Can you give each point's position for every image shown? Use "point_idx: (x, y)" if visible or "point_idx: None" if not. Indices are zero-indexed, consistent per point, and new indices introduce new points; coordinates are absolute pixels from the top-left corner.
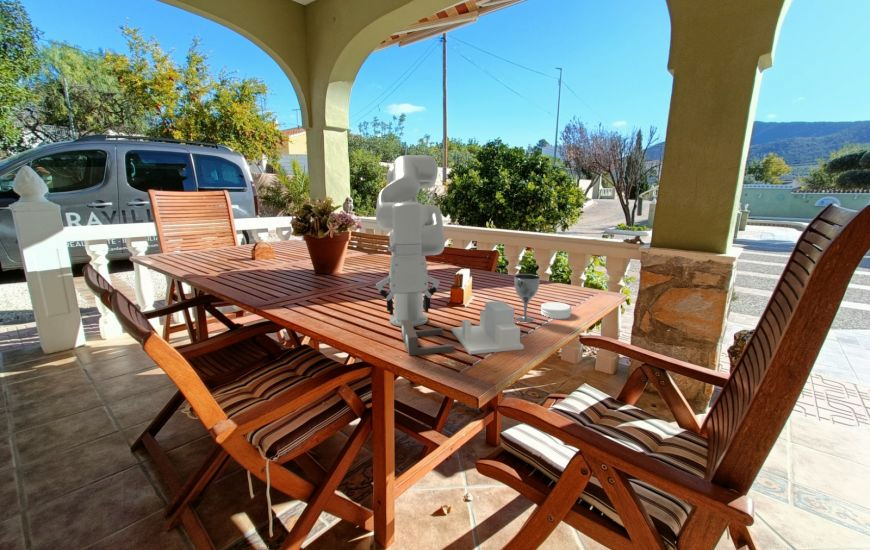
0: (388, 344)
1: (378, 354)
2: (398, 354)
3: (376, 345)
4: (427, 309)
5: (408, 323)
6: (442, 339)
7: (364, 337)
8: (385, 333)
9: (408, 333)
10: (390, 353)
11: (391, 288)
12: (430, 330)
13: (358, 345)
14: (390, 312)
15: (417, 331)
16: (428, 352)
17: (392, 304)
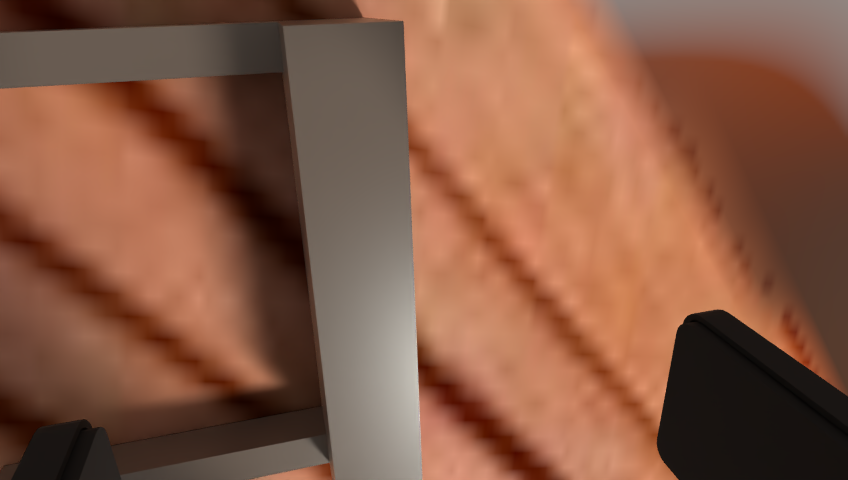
0: (505, 276)
1: (603, 93)
2: (452, 64)
3: (590, 265)
4: (40, 456)
5: (361, 455)
6: (6, 353)
7: (642, 402)
8: (500, 467)
9: (391, 166)
10: (513, 97)
11: None
12: (125, 475)
13: (700, 275)
14: (740, 328)
15: (257, 452)
16: (162, 25)
17: (828, 423)
